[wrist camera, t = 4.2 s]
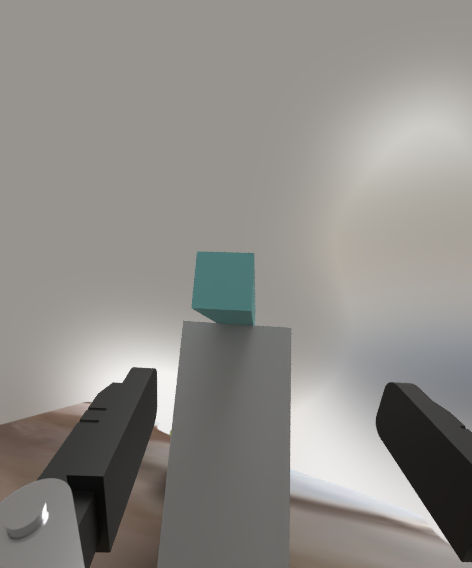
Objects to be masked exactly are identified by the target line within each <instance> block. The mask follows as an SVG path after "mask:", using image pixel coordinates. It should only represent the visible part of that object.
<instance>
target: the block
mask: <svg viewBox="0 0 472 568" xmlns="http://www.w3.org/2000/svg"><path fill="white" fill-rule="evenodd" d="M254 274H255V270H254V253H227V252H197V258H196V269H195V278H194V288H193V298H192V308H193V309H194V310H196V311H197V312H199V313H201V314H202V315H204V316H206V317H208V318H209V319H211V320H213V321H214V322H216V323H223V324H238V325H253V326H255V275H254Z"/></svg>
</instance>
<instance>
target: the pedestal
mask: <svg viewBox="0 0 472 568" xmlns="http://www.w3.org/2000/svg"><path fill="white" fill-rule="evenodd" d="M290 399H291V328H284V327H269V326H253V325H238V324H223V323H207V322H192V321H183V329H182V339H181V348H180V357H179V367H178V377H177V386H176V395H175V404H174V414H173V423H172V432H171V441H170V451H169V460H168V469H167V479H166V488H165V497H164V507H163V516H162V525H161V535H160V544H159V553H158V563H157V568H289V520H290V401H291V400H290Z"/></svg>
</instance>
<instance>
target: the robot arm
mask: <svg viewBox="0 0 472 568" xmlns="http://www.w3.org/2000/svg"><path fill="white" fill-rule="evenodd" d="M156 413H157V371H156V369H154V368H152V369H151V368H136V367H133V368H132V369H131V370H130V371H129V373H128V375H127V377H126V378H125V380H124V381H123V383H112V384H110V385H109V386H108V387H106V388H105V389H104V390H102V391H101V392H100V393H98V395H97V396H96V398H95V399H94V400H93V402H92V403H91V405H90V406H89V407H88V410H86V412H85V413H84V415H83V416H82V417H81V419H80V422H79V423H77V424H76V426H75V427H74V429H73V430H72V432H71V433H70V434H69V436H68V437H67V439H66V440H65V441H64V443H63V444H62V446H61V447H60V449H59V450H58V451H57V453H56V454H55V456H54V457H53V458H52V460H51V461H50V463H49V464H48V466H47V467H46V468H45V470H44V471H43V473H42V474H41V475H40V477H39V478H38V479H37V480H36V481H34V482H32V483H29V484H27V485H25V486H23V487H21V488H19V489H18V490H16V491H15V492H13V493H12V494H10V495H9V496H8V497H6V498H5V499H4V500H3V501H2V502H0V568H89V567H90V565H91V562H92V559H93V557H94V554H95V552H110V551H111V548H112V545H113V543H114V540H115V537H116V534H117V531H118V528H119V525H120V522H121V519H122V517H123V514H124V511H125V508H126V505H127V502H128V499H129V496H130V493H131V491H132V488H133V485H134V482H135V479H136V476H137V473H138V470H139V467H140V464H141V462H142V459H143V456H144V453H145V450H146V447H147V444H148V441H149V438H150V436H151V433H152V430H153V427H154V423H155V419H156ZM376 427H377V431H378V434H379V436H380V438H381V440H382V441H383V443H384V444H385V446H386V447H387V449H388V450H389V452H390V453H391V455H392V456H393V458H394V460H395V461H396V462H397V464H398V466H399V467H400V469H401V470H402V472H403V473H404V475H405V476H406V478H407V479H408V481H409V482H410V484H411V485H412V487H413V488H414V490H415V491H416V493H417V494H418V496H419V498H420V499H421V501H422V502H423V504H424V505H425V507H426V508H427V510H428V511H429V513H430V514H431V516H432V517H433V519H434V520H435V522H436V523H437V525H438V526H439V528H440V529H441V531H442V533H443V534H444V536H445V537H446V539H447V540H448V542H449V543H450V545H451V546H452V548H453V549H454V551H455V552H456V554H457V555H458V557H459V558H460V560H461V561H462V562H472V432H471V431H470V430H468V429H466V428H465V426H464V425H463V424H462V423H461V422H460V421H459V420H458V419H457V418H456V417H454V416H453V415H452V414H451V413H450V412H449V411H447V410H445V409H444V408H443V407H441V406H439V405H438V404H437V403H435V402H433V401H432V400H431V399H430V398H429V397H428V396H427V395H426V394H425V393H424V392H423V391H422V390H421V389H420V388H418V387H417V386H416V385H414V384H410V383H393V382H390V383H388V384H387V385H386V386H385V389H384V392H383V396H382V399H381V403H380V406H379V409H378V412H377V416H376Z"/></svg>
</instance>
